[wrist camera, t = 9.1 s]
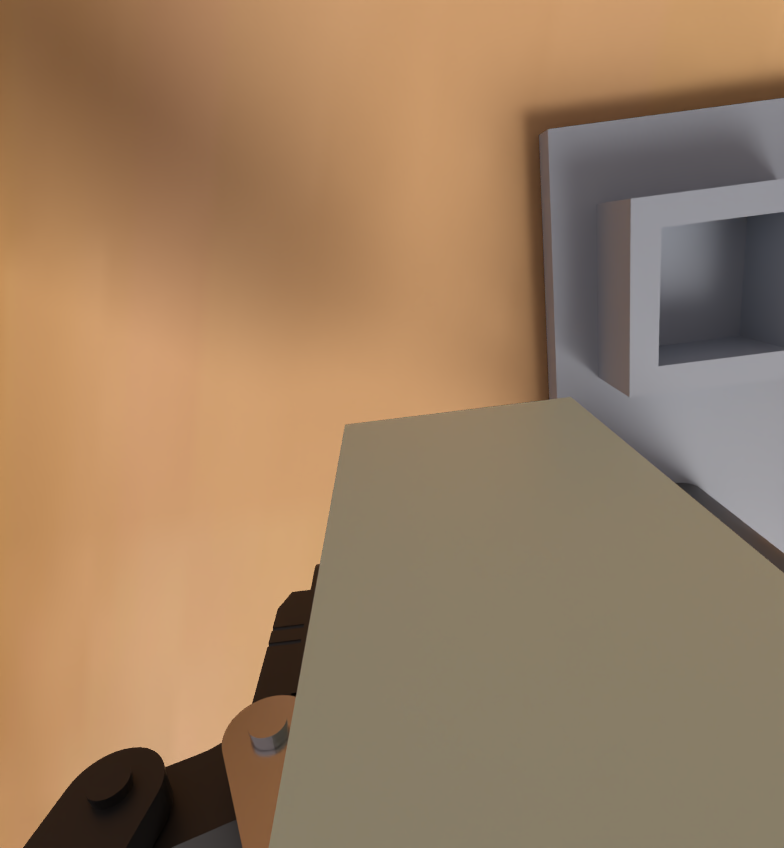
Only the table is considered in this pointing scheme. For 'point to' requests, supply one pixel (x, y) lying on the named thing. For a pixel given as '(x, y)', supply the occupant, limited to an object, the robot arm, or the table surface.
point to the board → (676, 297)
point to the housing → (531, 649)
